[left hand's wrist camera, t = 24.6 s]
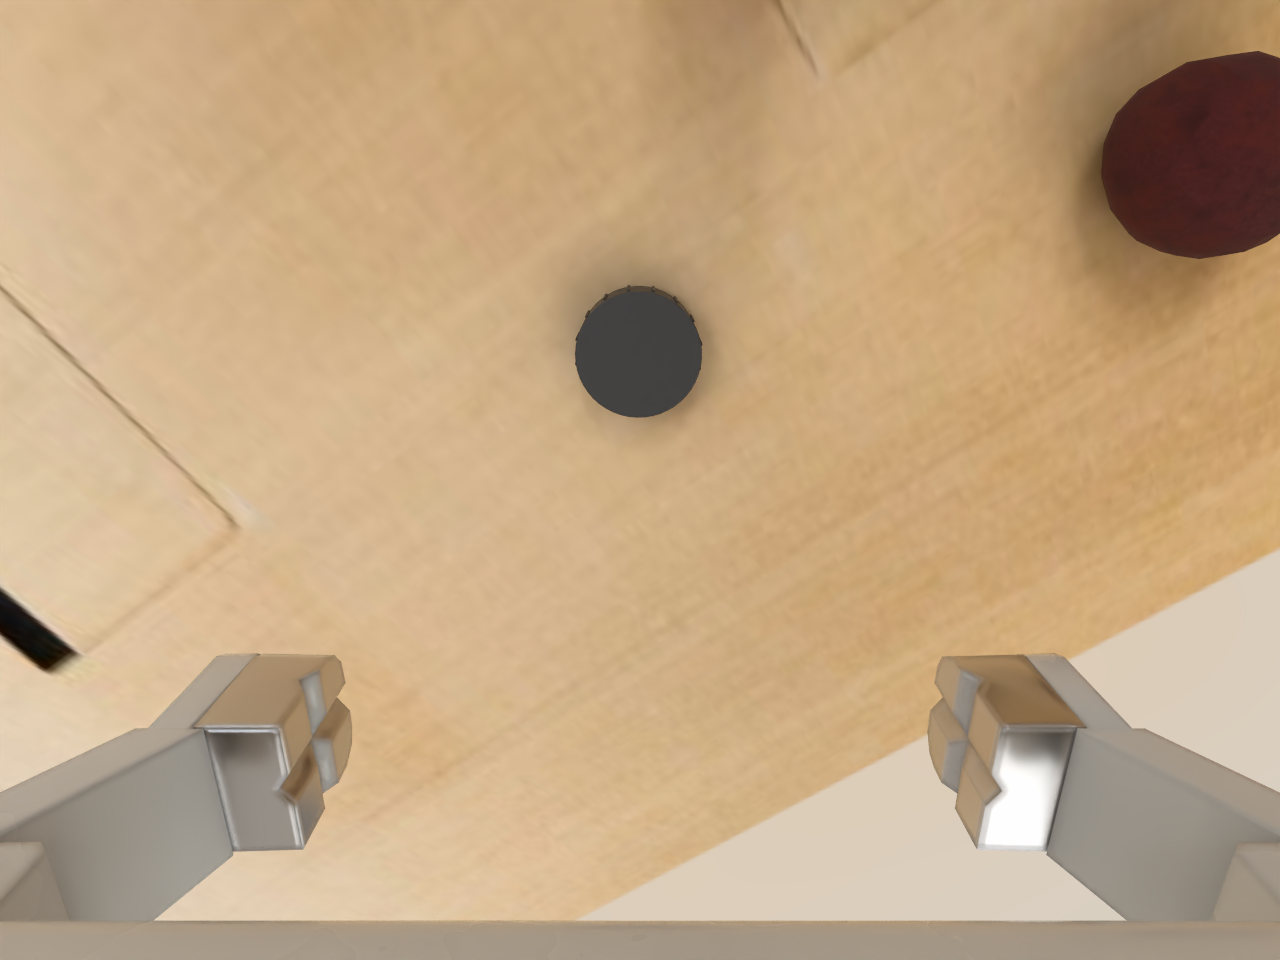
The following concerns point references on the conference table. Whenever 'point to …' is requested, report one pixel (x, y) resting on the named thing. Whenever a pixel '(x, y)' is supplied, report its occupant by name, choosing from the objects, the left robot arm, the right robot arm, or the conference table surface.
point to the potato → (1199, 157)
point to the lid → (638, 352)
